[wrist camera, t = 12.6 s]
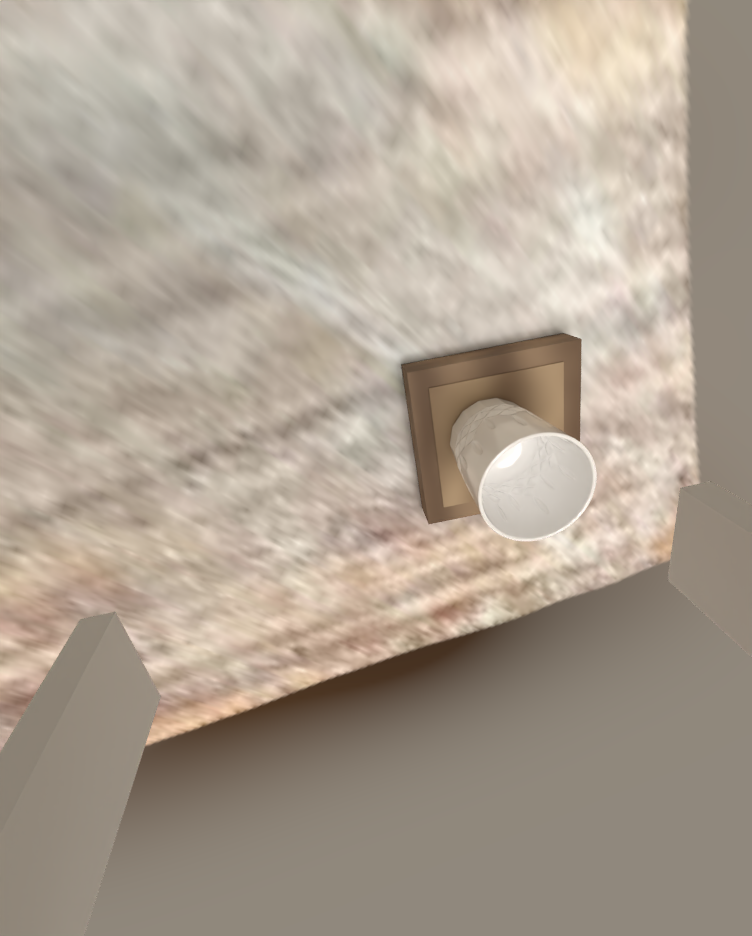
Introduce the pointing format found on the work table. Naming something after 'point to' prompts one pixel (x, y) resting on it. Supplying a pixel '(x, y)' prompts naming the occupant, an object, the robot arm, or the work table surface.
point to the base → (479, 378)
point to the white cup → (521, 470)
